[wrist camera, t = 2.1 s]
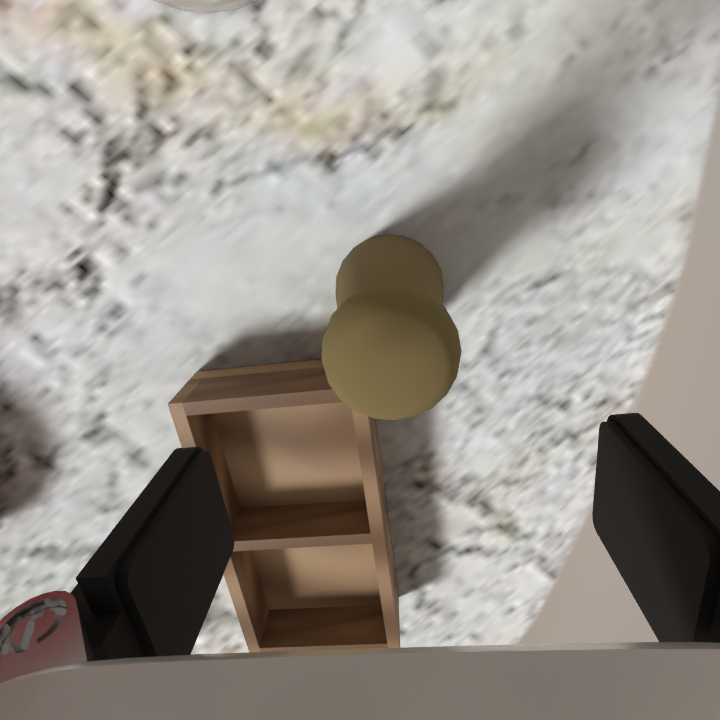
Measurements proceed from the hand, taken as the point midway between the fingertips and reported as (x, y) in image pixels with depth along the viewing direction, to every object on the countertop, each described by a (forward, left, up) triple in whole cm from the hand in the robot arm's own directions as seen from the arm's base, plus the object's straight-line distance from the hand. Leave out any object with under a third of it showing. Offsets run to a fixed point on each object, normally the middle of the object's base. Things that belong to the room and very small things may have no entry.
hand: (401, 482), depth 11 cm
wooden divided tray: (+13, -7, -16) cm, 22 cm away
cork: (-1, 0, -17) cm, 17 cm away
